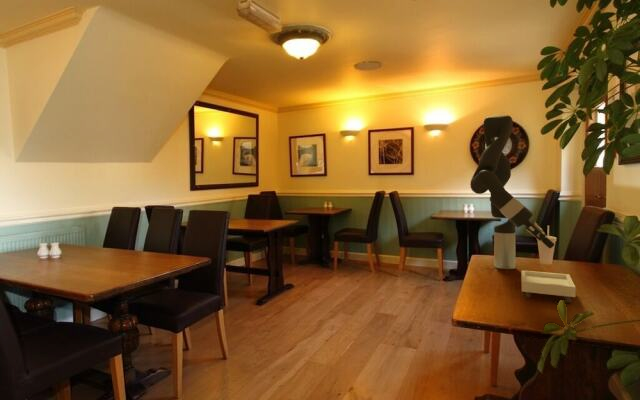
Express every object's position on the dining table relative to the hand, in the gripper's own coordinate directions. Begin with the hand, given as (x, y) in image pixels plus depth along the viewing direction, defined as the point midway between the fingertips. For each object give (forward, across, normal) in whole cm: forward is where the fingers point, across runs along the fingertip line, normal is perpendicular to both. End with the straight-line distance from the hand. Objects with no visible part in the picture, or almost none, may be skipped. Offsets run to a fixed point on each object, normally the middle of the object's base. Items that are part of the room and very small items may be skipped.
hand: (551, 245), depth 136 cm
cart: (+12, 0, +14) cm, 19 cm away
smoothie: (+4, 0, +6) cm, 7 cm away
